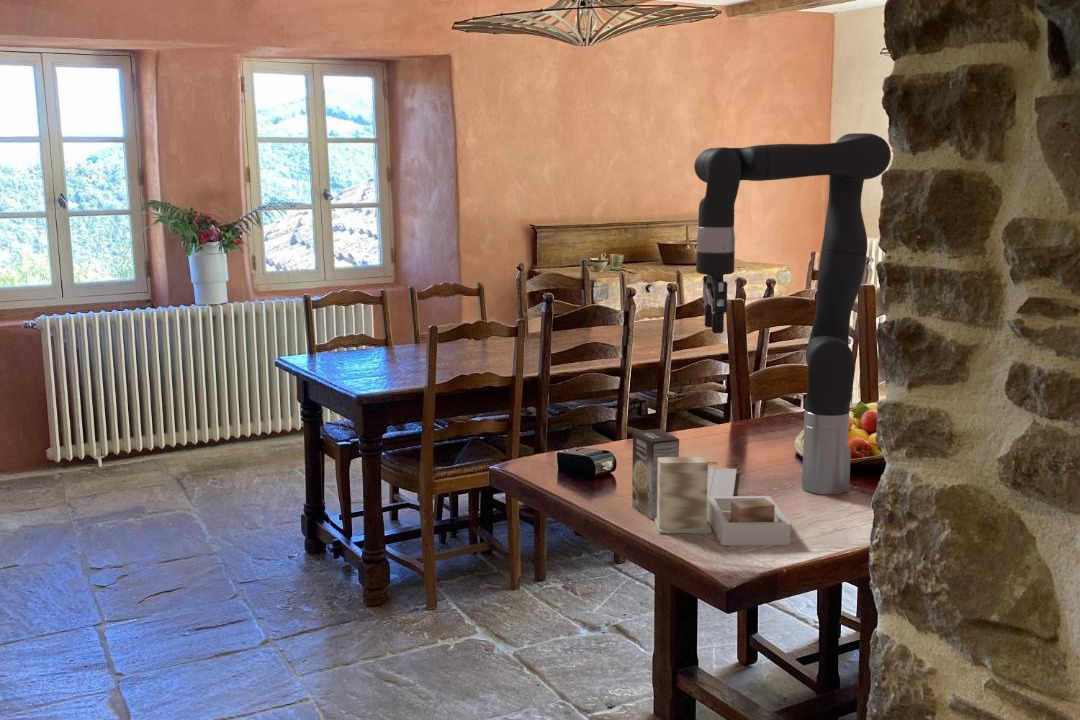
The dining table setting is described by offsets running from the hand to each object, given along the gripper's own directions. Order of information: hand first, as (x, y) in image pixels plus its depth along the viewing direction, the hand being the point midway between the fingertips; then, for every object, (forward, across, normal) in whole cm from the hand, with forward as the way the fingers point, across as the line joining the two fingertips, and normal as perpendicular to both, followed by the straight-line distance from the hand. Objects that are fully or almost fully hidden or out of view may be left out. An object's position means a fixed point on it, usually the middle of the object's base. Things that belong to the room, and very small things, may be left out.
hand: (713, 330), depth 210 cm
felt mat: (+36, -16, +8) cm, 40 cm away
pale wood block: (+36, -16, +8) cm, 40 cm away
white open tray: (+36, -18, -4) cm, 41 cm away
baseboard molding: (+37, +7, 0) cm, 38 cm away
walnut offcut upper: (+33, -22, -4) cm, 40 cm away
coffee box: (+36, -6, +12) cm, 39 cm away
